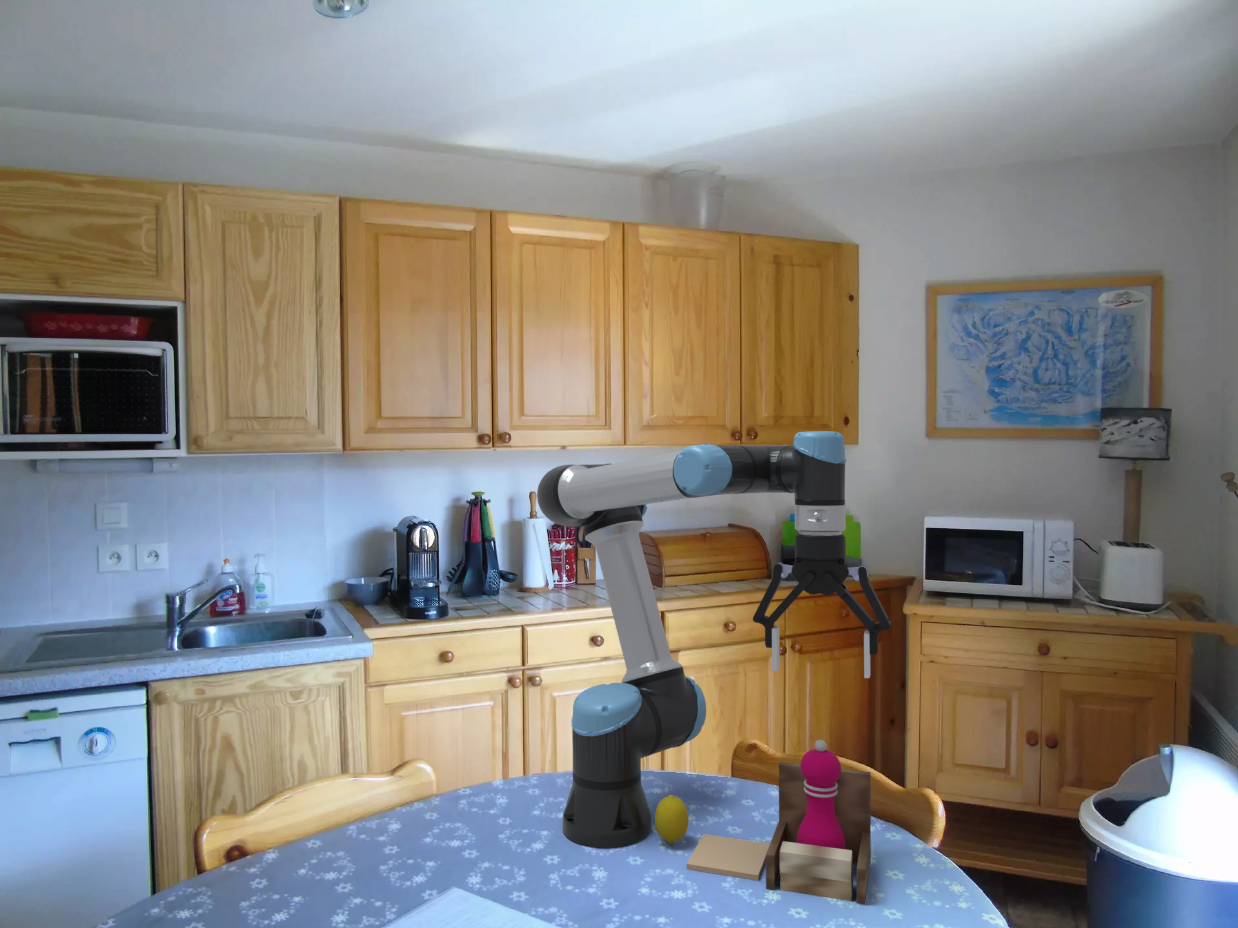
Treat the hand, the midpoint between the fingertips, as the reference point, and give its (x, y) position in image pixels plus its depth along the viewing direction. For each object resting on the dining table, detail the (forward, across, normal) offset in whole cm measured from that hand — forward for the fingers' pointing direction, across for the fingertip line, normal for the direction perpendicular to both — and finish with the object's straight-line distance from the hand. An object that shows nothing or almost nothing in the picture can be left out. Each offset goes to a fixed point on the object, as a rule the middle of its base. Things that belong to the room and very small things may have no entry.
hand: (820, 672), depth 129 cm
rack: (+30, 0, -1) cm, 30 cm away
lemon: (+30, -24, +2) cm, 39 cm away
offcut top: (+28, 0, -6) cm, 28 cm away
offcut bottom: (+31, 0, -6) cm, 31 cm away
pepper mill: (+30, 0, 0) cm, 31 cm away
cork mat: (+30, -14, 0) cm, 33 cm away
